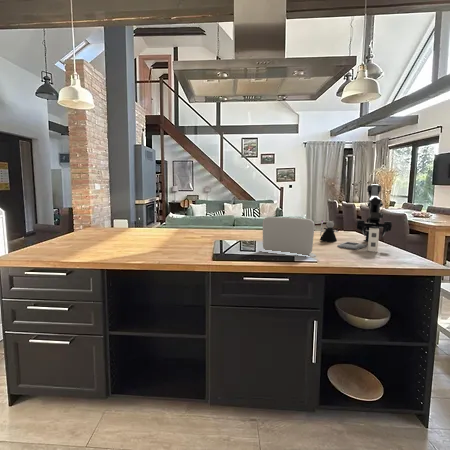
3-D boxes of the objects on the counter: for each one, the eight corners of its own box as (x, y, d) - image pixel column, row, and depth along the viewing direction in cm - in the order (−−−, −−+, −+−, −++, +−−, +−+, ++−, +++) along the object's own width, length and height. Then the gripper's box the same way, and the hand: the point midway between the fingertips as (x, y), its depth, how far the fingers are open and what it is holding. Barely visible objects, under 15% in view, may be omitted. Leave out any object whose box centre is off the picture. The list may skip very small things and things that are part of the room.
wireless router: (317, 254, 177) (319, 218, 175) (314, 258, 168) (316, 220, 166) (262, 249, 190) (263, 215, 188) (257, 252, 181) (258, 216, 179)
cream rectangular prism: (367, 249, 193) (369, 227, 192) (376, 250, 192) (378, 228, 190) (368, 251, 189) (369, 228, 187) (377, 251, 187) (379, 229, 185)
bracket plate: (347, 243, 211) (348, 239, 211) (366, 246, 203) (367, 242, 203) (336, 247, 199) (337, 243, 199) (356, 250, 191) (356, 245, 191)
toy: (335, 238, 222) (338, 218, 215) (337, 243, 216) (340, 223, 209) (317, 238, 223) (320, 218, 217) (319, 243, 217) (322, 222, 210)
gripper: (358, 206, 195) (357, 226, 187) (392, 208, 188) (393, 229, 180) (357, 218, 204) (356, 238, 195) (390, 220, 197) (390, 241, 188)
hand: (373, 236), depth 189 cm, fingers open, 9 cm apart
